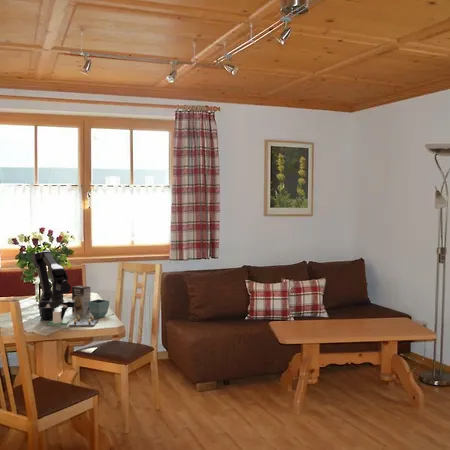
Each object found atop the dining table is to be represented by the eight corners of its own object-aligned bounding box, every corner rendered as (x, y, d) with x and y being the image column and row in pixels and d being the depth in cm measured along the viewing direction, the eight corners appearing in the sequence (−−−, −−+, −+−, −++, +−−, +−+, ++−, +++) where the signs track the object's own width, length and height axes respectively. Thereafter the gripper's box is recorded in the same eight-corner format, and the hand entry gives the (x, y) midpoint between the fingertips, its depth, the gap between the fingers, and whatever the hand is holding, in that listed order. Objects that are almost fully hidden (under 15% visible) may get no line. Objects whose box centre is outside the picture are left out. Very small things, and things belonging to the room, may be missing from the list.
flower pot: (99, 318, 312) (98, 303, 312) (87, 317, 317) (87, 301, 316) (109, 316, 320) (109, 300, 319) (98, 314, 324) (98, 299, 324)
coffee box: (71, 313, 325) (71, 286, 325) (79, 311, 331) (79, 285, 330) (83, 315, 321) (83, 287, 320) (90, 313, 327) (90, 286, 326)
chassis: (68, 326, 293) (68, 320, 292) (75, 321, 306) (74, 314, 305) (93, 326, 293) (93, 320, 293) (98, 321, 306) (98, 314, 306)
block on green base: (45, 325, 294) (45, 312, 294) (51, 321, 304) (51, 309, 304) (64, 325, 294) (64, 312, 294) (69, 321, 304) (69, 309, 304)
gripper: (35, 293, 290) (35, 323, 291) (71, 293, 290) (71, 323, 291) (42, 290, 301) (42, 318, 302) (76, 290, 301) (76, 318, 302)
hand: (58, 319), depth 299 cm, fingers closed on block on green base, 4 cm apart
